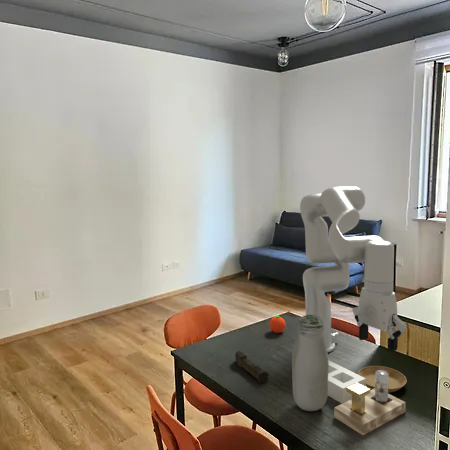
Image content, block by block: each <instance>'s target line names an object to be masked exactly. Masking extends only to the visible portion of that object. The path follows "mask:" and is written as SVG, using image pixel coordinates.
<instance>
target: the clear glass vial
mask: <svg viewBox="0 0 450 450" xmlns="http://www.w3.org/2000/svg"><path fill="white" fill-rule="evenodd" d="M388 394H389V393H388V372H386V371H384V370H377V371H376V372H375V401H376V402H378V403H380V404H382V405H384V404H386V403H388Z"/></svg>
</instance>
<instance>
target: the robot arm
mask: <svg viewBox="0 0 450 450" xmlns="http://www.w3.org/2000/svg"><path fill="white" fill-rule="evenodd" d="M365 196H366V195H365V193H364V191H363V190H362V189H361V188H360V187H357V186H352V185H350V186H333V187H328V188H326V189H324V190H323V191H322V193H313V194H308V195H307V194H306V195H305V196H303V197H302V199H301V201H300V203H299V205H300V206H299V209H300V216H301V219H302V221H303V222H302V223H303V225H304V232H305V233H304V235H305V236H304V238H305V256H306V259H307V262H308V263H311V264H313V265H315V264H317V265H319V264H333V265H327V266H325V265H322V266H313V267H310V268H307V269H305V270H304V272H303V274H302V282H303V289H304V299H305V315H316V316H318V317H319V318H320V319H321V320H322V323H323V326H324V331H323V336H324V342H325V346H326V350H327V353H331V352H333V351H334V350H335V349H336V343H335V342H334V339H337V338H339V337H340V334H339V332H334V333H332V305H331V300H330V299H329V297H327V295H326V294H325V293H326V292H327V293H328V292H336V291H344V290H346V289H348V287H349V285H350V278H351V277H350V264H353V263H354V264H355V263H364V271H363V272H364V273H363V274H364V275H363V276H364V277H363V278H362V279H361V282H362V283H364V284H363V287H362V288H361V290H360V295H359V298H358V299H359V300H358V306H355V307H353V308H352V313H353V316H354V319H355V321H356V325H357V326H358V339H359V341H363V340H366V339H368V338H369V327H372V328H374V329H376V330H380V331H381V332H383V331H385V332H386V333H387V335H388V338H387V353H390V354H391V353H393V352H395V351H397V350H398V345H399V343H398V342H399V341H398V339H399V337H400V336H402V335H404V333H405V331H406V329H407V328H408V326H407V324H406V323H405V322H404V321H403V320H402V319H400V318H399V317H398V305H397V304H398V303H397V298H396V297H397V296H396V293H395V292H394V274H395V273H394V272H395V271H394V267H395V265H394V263H395V262H394V261H395V247H394V244H393V243H392V241H388V240H384V239H383V238H382V237H380V236H379V235H357V236H344V235H343V234H345V233H348V232H349V231H351V230H352V229H354V228H355V227H356V226H357V225H358V224H359V221H360V219H361V218H360V217H361V216H360V212H359V211H361V210H362V209H363V208H364V207H365V204H366V197H365ZM324 217H328V218H329V219H330V221H331V225H330V227H328V223H327V222H326V221H325V219H324ZM397 327H398V328H397Z"/></svg>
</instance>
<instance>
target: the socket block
mask: <svg viewBox="0 0 450 450" xmlns="http://www.w3.org/2000/svg"><path fill="white" fill-rule="evenodd" d="M406 403H407V402H406V401H404V400H401V399H400V398H397V397H396V396H394V395H392V394H390V393H388V403H386V404H384V405H382V404H380V403H378V402H376V401H375V388H374V389H370V394H368V395H366V396H365V414H364V415H362V416H361V415H359V414H357V413H355V412H354V411H352V399H351V400H349V401H347V402H345V403H343V404H342V403H339V405H337V406H334V409H333V412H334V413H333V418H334V419H336V420H337V421H339V422H341V423H342V424H345V426H347V427H349V428H351V429H353V431H355V432H357V433H358V434H360V435H362V436H365V435H366V434H368V433H370V432H373V430H376V429H377V428H380V427H381V426H383V425H385V424H387V423H388V422H390V421H392V420H394V419H395V418H398V417H399V416H401V415H403V414H404V413H406Z"/></svg>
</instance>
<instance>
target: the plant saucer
mask: <svg viewBox="0 0 450 450" xmlns="http://www.w3.org/2000/svg"><path fill="white" fill-rule="evenodd" d="M377 370H384V371H386V372H388V394H390V393H394V392H397V391H399V390H400V389H402V388H403V387H404V386H405V385H406V384H407V377H406V376H405V375H404V374H403V373H401V372H400V371H398V370H397V369H394V368H391V367H387V366H382V365H381V366H380V365H369V366H364V367H362V368H361V369H359V370H358V372H357V374H358V375H360V376H362V377H364V378H366V387H367V388H369V389H370V390H372V389H374V388H375V372H376V371H377Z"/></svg>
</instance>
